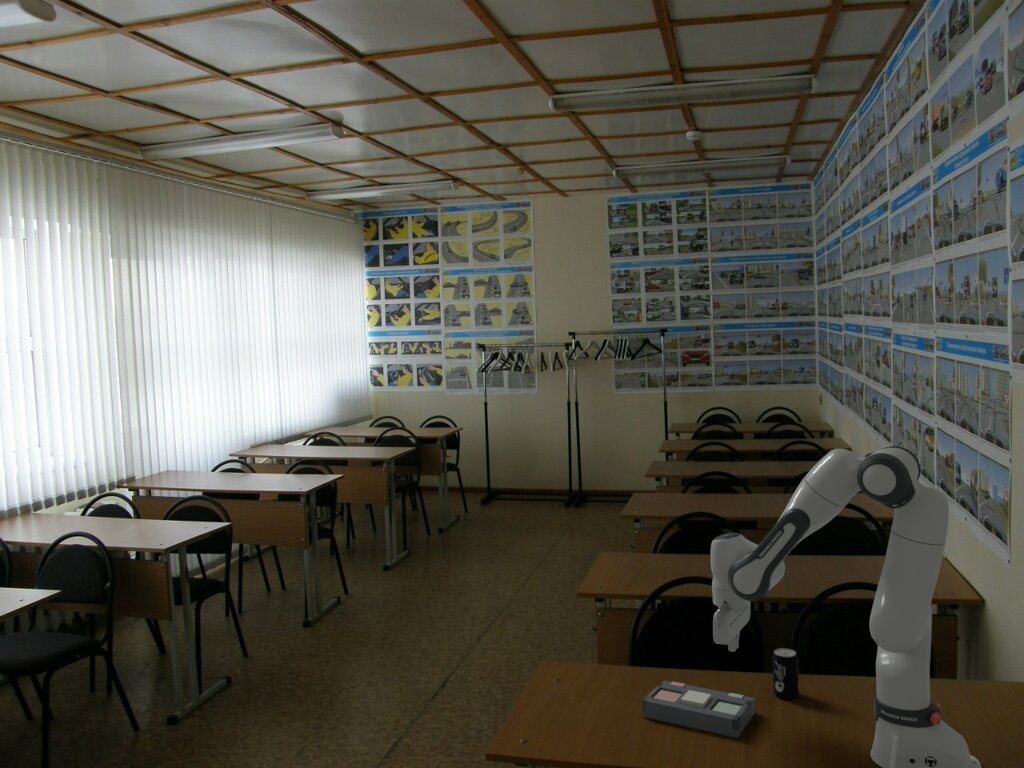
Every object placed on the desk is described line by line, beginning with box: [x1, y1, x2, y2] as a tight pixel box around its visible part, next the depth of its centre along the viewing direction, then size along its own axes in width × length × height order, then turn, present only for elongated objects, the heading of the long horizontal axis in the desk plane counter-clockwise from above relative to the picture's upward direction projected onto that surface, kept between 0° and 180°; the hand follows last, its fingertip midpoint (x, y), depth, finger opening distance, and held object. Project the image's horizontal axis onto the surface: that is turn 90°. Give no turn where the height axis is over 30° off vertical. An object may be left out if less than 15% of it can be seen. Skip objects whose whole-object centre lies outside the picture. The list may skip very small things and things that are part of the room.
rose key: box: [653, 690, 682, 702], centre depth 218 cm, size 6×6×2 cm
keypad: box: [641, 680, 756, 739], centre depth 215 cm, size 25×15×4 cm, turn 57°
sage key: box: [712, 702, 742, 715], centre depth 209 cm, size 6×6×2 cm
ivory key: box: [681, 690, 711, 708], centre depth 213 cm, size 6×6×2 cm
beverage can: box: [772, 647, 800, 701], centre depth 223 cm, size 7×7×12 cm
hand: (733, 649), depth 210 cm, fingers closed
